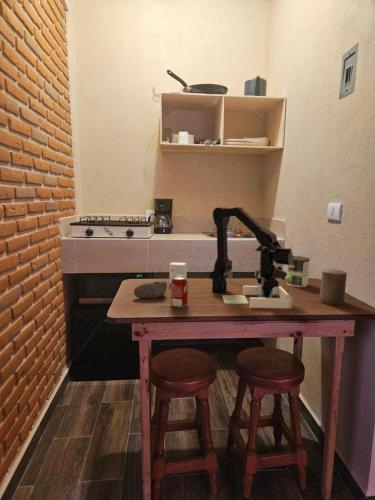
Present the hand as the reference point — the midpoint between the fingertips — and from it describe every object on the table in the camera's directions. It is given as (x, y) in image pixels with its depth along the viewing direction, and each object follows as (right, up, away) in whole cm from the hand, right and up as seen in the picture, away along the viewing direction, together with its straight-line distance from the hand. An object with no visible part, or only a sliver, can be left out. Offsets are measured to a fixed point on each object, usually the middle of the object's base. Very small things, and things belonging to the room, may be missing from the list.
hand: (264, 297), depth 137 cm
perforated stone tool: (-50, -1, +3) cm, 50 cm away
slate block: (0, -2, 0) cm, 2 cm away
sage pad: (-13, -1, 0) cm, 13 cm away
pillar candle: (+29, -2, 0) cm, 29 cm away
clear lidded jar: (+23, +2, +27) cm, 36 cm away
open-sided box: (0, -2, 0) cm, 2 cm away
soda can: (-37, -3, -7) cm, 38 cm away
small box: (-39, +3, +26) cm, 47 cm away
